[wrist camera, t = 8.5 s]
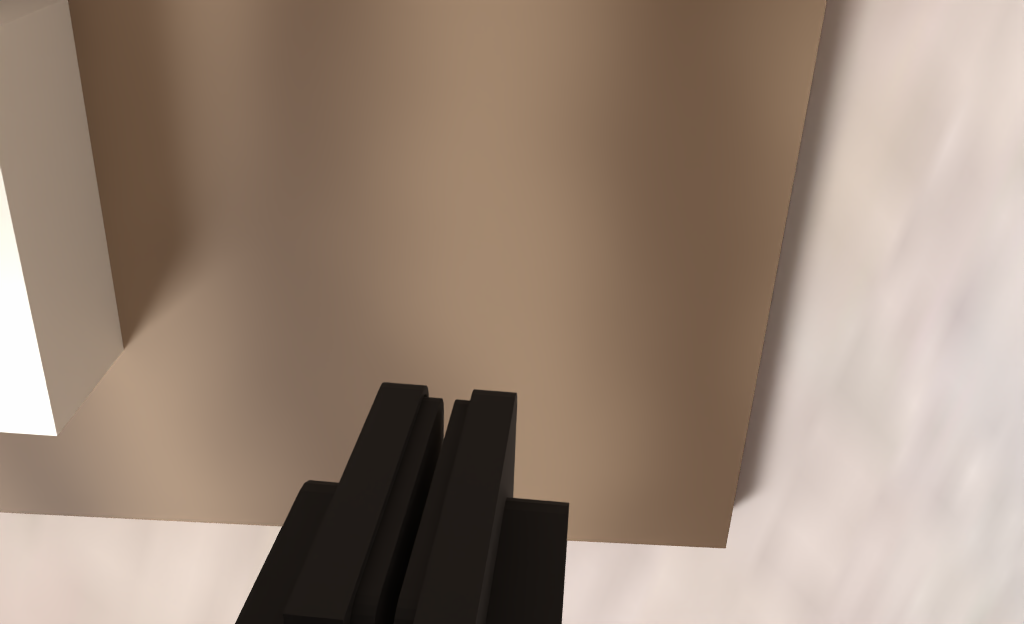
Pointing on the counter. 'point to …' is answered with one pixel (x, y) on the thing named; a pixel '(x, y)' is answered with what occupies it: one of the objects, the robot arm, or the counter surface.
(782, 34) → the board
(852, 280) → the counter surface
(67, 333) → the cream bevelled block
